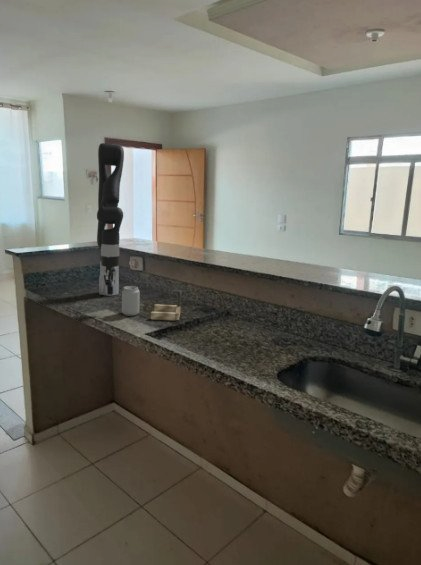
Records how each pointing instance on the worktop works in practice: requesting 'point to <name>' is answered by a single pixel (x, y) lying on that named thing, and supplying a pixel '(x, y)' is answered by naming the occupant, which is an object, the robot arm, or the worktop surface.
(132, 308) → the can
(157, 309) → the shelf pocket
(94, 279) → the worktop surface
